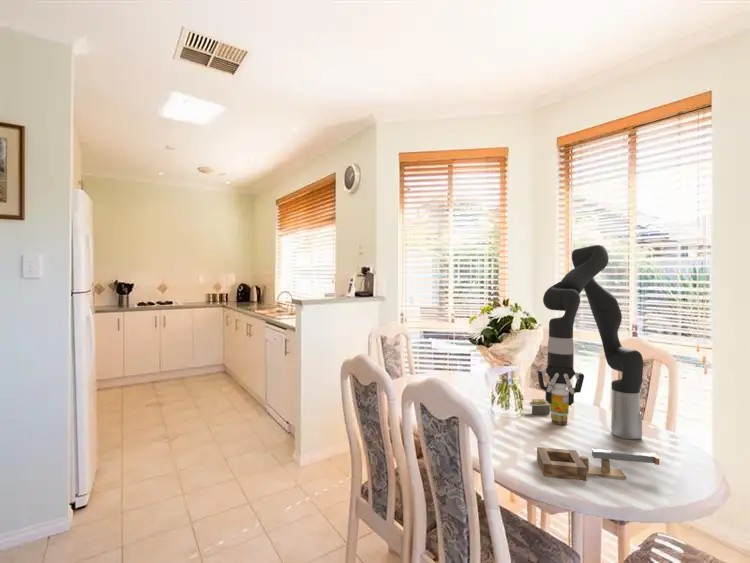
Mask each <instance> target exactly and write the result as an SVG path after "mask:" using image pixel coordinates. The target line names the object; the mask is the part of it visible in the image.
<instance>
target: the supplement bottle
mask: <svg viewBox="0 0 750 563" xmlns="http://www.w3.org/2000/svg"><path fill="white" fill-rule="evenodd" d="M553 387H554V388H552V389H551V391H550V392H551V404H550V414H551V413H553V414H556V415H561V416H565V415H567V416H568V415H569V409H570V408H569V406H570V405H569V390H568V389H567V384H563V383H555V384H554V386H553Z"/></svg>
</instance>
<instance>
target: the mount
mask: <svg viewBox="0 0 750 563" xmlns="http://www.w3.org/2000/svg"><path fill="white" fill-rule="evenodd" d="M579 456H580V458H581V460H582V461H583V463H584V465H585V466H586V477H596V476H598V477H599V478H600V477H601V478H607V479H616V480H627V475H626V474H625V473H624V472H623V471H622V469H621V468H617V467H615V468H613V467H611V459H601V460H600V464H601V465H600V466H592V465H591V466H590V463H589V462H590V461H589V457H588V456H581V455H579ZM598 477H597V478H598Z"/></svg>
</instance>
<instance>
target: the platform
mask: <svg viewBox="0 0 750 563" xmlns="http://www.w3.org/2000/svg"><path fill="white" fill-rule="evenodd" d="M529 406H531V415H543V414H542V413H550V414H551V412H550V404H548V402H547V401H546V399H544V398H533V399H531V401H529Z"/></svg>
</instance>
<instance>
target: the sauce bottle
mask: <svg viewBox="0 0 750 563" xmlns="http://www.w3.org/2000/svg"><path fill="white" fill-rule="evenodd" d="M552 388H554V387H552ZM550 419H551V423H553V424H555V425H558V426H564V425H567V424H568V415H565V416H561V415H556V414H553V413H551V412H550Z"/></svg>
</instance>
